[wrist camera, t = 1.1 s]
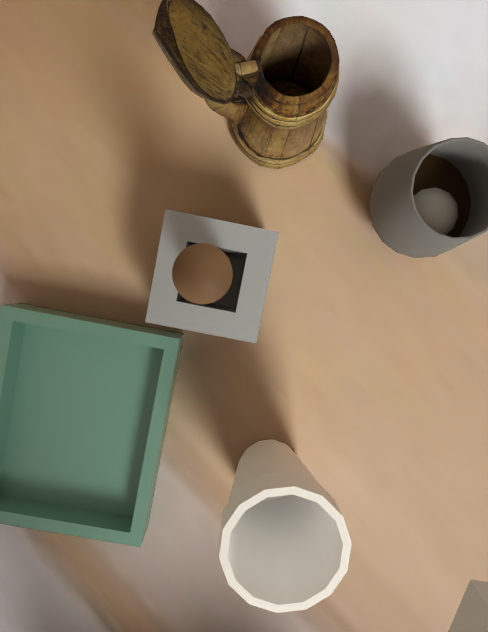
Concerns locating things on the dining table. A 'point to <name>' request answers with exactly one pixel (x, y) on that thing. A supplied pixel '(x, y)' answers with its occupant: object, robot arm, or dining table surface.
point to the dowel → (202, 273)
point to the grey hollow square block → (245, 290)
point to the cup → (432, 198)
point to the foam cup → (281, 532)
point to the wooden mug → (256, 79)
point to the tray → (82, 421)
